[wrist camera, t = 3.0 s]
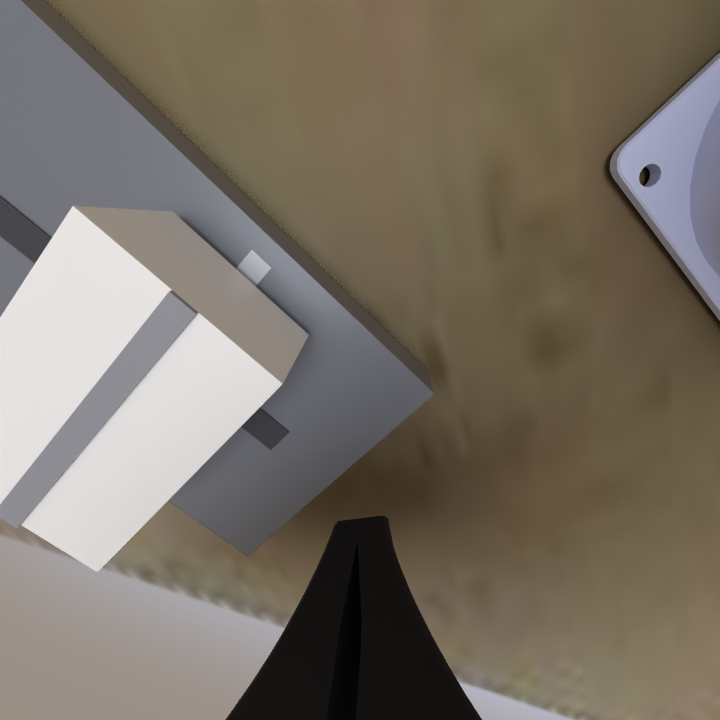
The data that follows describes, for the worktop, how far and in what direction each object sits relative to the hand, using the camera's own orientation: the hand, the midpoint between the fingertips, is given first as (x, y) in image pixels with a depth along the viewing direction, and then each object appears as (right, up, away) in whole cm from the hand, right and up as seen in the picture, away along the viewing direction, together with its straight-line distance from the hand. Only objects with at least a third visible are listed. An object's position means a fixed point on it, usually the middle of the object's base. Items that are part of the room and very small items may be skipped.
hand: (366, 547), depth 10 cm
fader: (-5, +5, -1) cm, 7 cm away
